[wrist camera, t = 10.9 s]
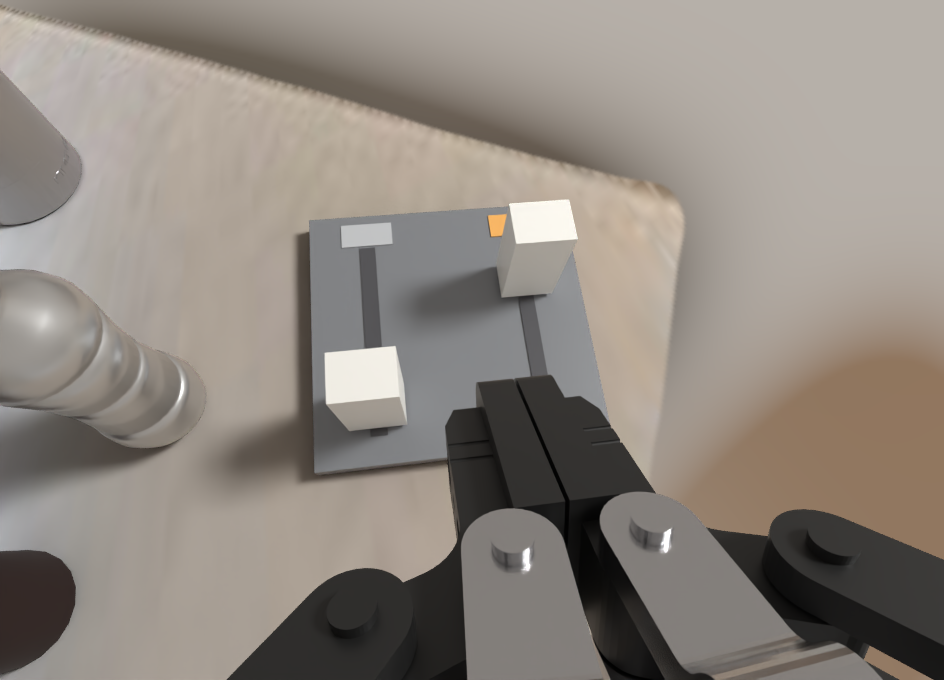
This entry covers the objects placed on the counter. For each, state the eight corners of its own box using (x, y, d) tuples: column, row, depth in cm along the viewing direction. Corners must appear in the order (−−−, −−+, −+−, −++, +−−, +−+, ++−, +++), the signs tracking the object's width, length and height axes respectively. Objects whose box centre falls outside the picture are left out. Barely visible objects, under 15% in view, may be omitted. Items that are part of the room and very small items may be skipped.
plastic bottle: (110, 386, 38) (-209, 243, 19) (204, 351, 39) (-9, 186, 20) (130, 469, 36) (-203, 400, 17) (228, 429, 37) (17, 326, 19)
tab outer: (501, 297, 40) (516, 243, 33) (496, 263, 41) (509, 203, 34) (551, 293, 41) (577, 239, 33) (545, 259, 42) (568, 199, 34)
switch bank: (319, 475, 37) (313, 472, 35) (313, 230, 43) (308, 219, 42) (606, 441, 39) (613, 437, 37) (558, 213, 45) (562, 202, 44)
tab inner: (349, 431, 36) (326, 404, 28) (347, 389, 37) (324, 352, 29) (407, 424, 36) (399, 396, 29) (403, 383, 37) (395, 346, 30)
